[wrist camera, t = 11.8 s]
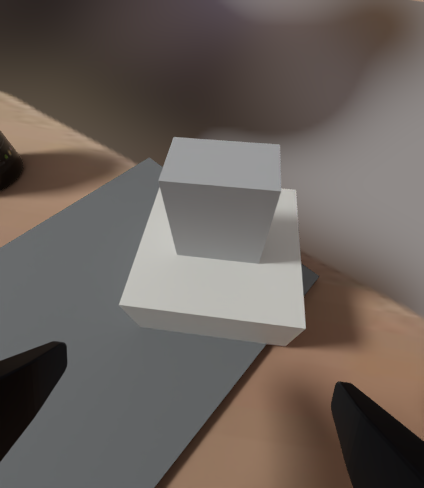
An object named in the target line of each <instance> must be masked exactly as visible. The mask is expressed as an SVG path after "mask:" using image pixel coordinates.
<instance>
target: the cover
mask: <svg viewBox="0 0 424 488" xmlns="http://www.w3.org/2000/svg"><path fill="white" fill-rule="evenodd" d="M158 182H159V186H160V187H159V190H158V193H157V196H156V199H155V202H154V204H153V207H152V210H151V213H150V216H149V219H148V222H147V225H146V228H145V231H144V233H143V236H142V239H141V242H140V245H139V248H138V251H137V254H136V257H135V260H134V262H133V265H132V268H131V271H130V274H129V277H128V280H127V283H126V286H125V289H124V291H123V294H122V297H121V300H120V303H119V305H120V307H121V308H122V309H123V310H124V311H125V312H126V313H127V314H128V315H129V316H130V317H131V318H132V319H133V320H134V321H135V322H136V323H137V324H138V326H139V327H145V328H152V329H159V330H167V331H174V332H182V333H189V334H197V335H204V336H212V337H219V338H227V339H234V340H241V341H249V342H256V343H264V344H271V345H279V346H286V345H287V344H289V343H290V342H291V341H292V340H293V339H294V338H296V337H297V336H298V335H299V334H300V333H301V332H303V331H304V330H305V329H306V323H305V310H304V296H303V282H302V268H301V254H300V241H299V227H298V213H297V200H296V190H291V189H281V168H280V145H277V144H263V143H249V142H234V141H221V140H206V139H192V138H178V137H174V138H173V141H172V144H171V146H170V149H169V152H168V155H167V158H166V160H165V163H164V166H163V169H162V172H161V174H160V177H159V180H158Z"/></svg>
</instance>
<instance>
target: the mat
mask: <svg viewBox="0 0 424 488" xmlns="http://www.w3.org/2000/svg"><path fill="white" fill-rule="evenodd" d="M162 169H163V167H162V166H160V165H159V164H157V163H156V162H155V161H153V160H152V159H150V158H148V159H146V160H144V161H143V162H141V163H139V164H138V165H136V166H134V167H133V168H131V169H129V170H128V171H126V172H124V173H123V174H121V175H120V176H118V177H116V178H115V179H113V180H111V181H110V182H108V183H106V184H105V185H103V186H101V187H100V188H98V189H96V190H95V191H93V192H92V193H90V194H88V195H87V196H85V197H83V198H82V199H80V200H78V201H77V202H75V203H73V204H72V205H70V206H68V207H67V208H65V209H64V210H62V211H60V212H59V213H57V214H55V215H54V216H52V217H50V218H49V219H47V220H45V221H44V222H42V223H40V224H39V225H37V226H36V227H34V228H32V229H31V230H29V231H27V232H26V233H24V234H22V235H21V236H19V237H17V238H16V239H14V240H12V241H11V242H9V243H8V244H6V245H4V246H3V247H1V248H0V361H1V360H4V359H6V358H9V357H12V356H14V355H17V354H20V353H22V352H25V351H28V350H30V349H33V348H36V347H38V346H41V345H44V344H46V343H49V342H52V341H59V342H64V343H66V345H67V361H68V364H67V368H66V370H65V372H64V374H63V375H62V377H61V378H60V380H59V381H58V383H57V384H56V386H55V388H54V389H53V391H52V392H51V394H50V395H49V397H48V398H47V400H46V401H45V403H44V404H43V406H42V408H41V409H40V410H39V412H38V413H37V415H36V416H35V418H34V419H33V420H32V422H31V423H30V424H29V426H28V427H27V428H26V430H25V431H24V432H23V433H22V435H21V436H20V437H19V439H18V440H17V441H16V443H15V444H14V445H13V446H12V448H11V449H10V450H9V452H8V453H7V454H6V455H5V457H4V458H3V459H2V461H1V462H0V488H154V487H155V486H156V485H157V483H158V482H159V481H160V479H161V478H162V477H163V476H164V474H165V473H166V472H167V471H168V469H169V468H170V467H171V465H172V464H173V463H174V462H175V460H176V459H177V458H178V456H179V455H180V454H181V453H182V451H183V450H184V449H185V448H186V446H187V445H188V444H189V442H190V441H191V440H192V439H193V437H194V436H195V435H196V433H197V432H198V431H199V430H200V428H201V427H202V426H203V424H204V423H205V422H206V421H207V419H208V418H209V417H210V416H211V414H212V413H213V412H214V410H215V409H216V408H217V407H218V405H219V404H220V403H221V401H222V400H223V399H224V398H225V396H226V395H227V394H228V393H229V391H230V390H231V389H232V387H233V386H234V385H235V384H236V382H237V381H238V380H239V378H240V377H241V376H242V375H243V373H244V372H245V371H246V369H247V368H248V367H249V366H250V364H251V363H252V362H253V361H254V359H255V358H256V357H257V355H258V354H259V353H260V352H261V350H262V349H263V348H264V346H265V345H266V344H264V343H256V342H249V341H241V340H234V339H227V338H219V337H212V336H204V335H197V334H189V333H182V332H174V331H167V330H159V329H152V328H145V327H139V326H138V324H137V323H136V322H135V321H134V320H133V319H132V318H131V317H130V316H129V315H128V314H127V313H126V312H125V311H124V310H123V309H122V308H121V307H120V305H119V303H120V300H121V297H122V294H123V291H124V289H125V286H126V283H127V280H128V277H129V274H130V271H131V268H132V265H133V262H134V260H135V257H136V254H137V251H138V248H139V245H140V242H141V239H142V236H143V233H144V231H145V228H146V225H147V222H148V219H149V216H150V213H151V210H152V207H153V204H154V202H155V199H156V196H157V193H158V190H159V187H160V186H159V182H158V180H159V177H160V174H161V172H162ZM301 268H302V282H303V296H304V295H305V294H306V293H307V291H308V290H309V289H310V288H311V286H312V285H313V284H314V283H315V281H316V280H317V279H318V277H319V276H318V275H317V274H315V273H314V272H313V271H311V270H310V269H308V268H307V267H305V266H304V265H303V264H301Z"/></svg>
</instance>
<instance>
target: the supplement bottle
mask: <svg viewBox="0 0 424 488" xmlns="http://www.w3.org/2000/svg"><path fill="white" fill-rule="evenodd" d="M22 170H23V161H22V159H21V157H20V156H19V154H18V153H17V152H16V150H15V149H14V148H13V146H12V145H11V144H10V142H9V141H8V140H7V139H6V137H5V136H4V135H3V133H2V132H1V131H0V190H3V189H5V188H6V187H8V186H9V185H11V184H12V183H13V182H15V181H16V180H17V179H18V178H19V176H20V175H21V173H22Z"/></svg>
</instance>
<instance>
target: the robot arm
mask: <svg viewBox="0 0 424 488" xmlns="http://www.w3.org/2000/svg"><path fill="white" fill-rule="evenodd" d="M67 364H68V361H67V345H66V343H64V342H59V341H52V342H49V343H46V344H44V345H41V346H38V347H36V348H33V349H30V350H28V351H25V352H22V353H20V354H17V355H14V356H12V357H9V358H6V359H4V360H1V361H0V462H1V461H2V459H3V458H4V457H5V455H6V454H7V453H8V452H9V450H10V449H11V448H12V446H13V445H14V444H15V443H16V441H17V440H18V439H19V437H20V436H21V435H22V433H23V432H24V431H25V430H26V428H27V427H28V426H29V424H30V423H31V422H32V420H33V419H34V418H35V416H36V415H37V413H38V412H39V410H40V409H41V408H42V406H43V404H44V403H45V401H46V400H47V398H48V397H49V395H50V394H51V392H52V391H53V389H54V388H55V386H56V384H57V383H58V381H59V380H60V378H61V377H62V375H63V374H64V372H65V370H66V368H67ZM331 410H332V415H333V418H334V422H335V426H336V430H337V434H338V438H339V441H340V445H341V449H342V453H343V457H344V460H345V464H346V467H347V471H348V474H349V477H350V480H351V482H352V485H353V488H424V441H423V440H421V439H420V438H419V437H418V436H416V435H415V434H414V433H413V432H411V431H410V430H409V429H408V428H406V427H405V426H404V425H403V424H401V423H400V422H399V421H398V420H396V419H395V418H394V417H393V416H391V415H390V414H389V413H388V412H386V411H385V410H384V409H383V408H381V407H380V406H379V405H378V404H376V403H375V402H374V401H373V400H371V399H370V398H369V397H368V396H366V395H365V394H364V393H363V392H361V391H360V390H359V389H358V388H356V387H355V386H354V385H353V384H351V383H347V382H337V383H336V385H335V388H334V393H333V397H332V402H331Z"/></svg>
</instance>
